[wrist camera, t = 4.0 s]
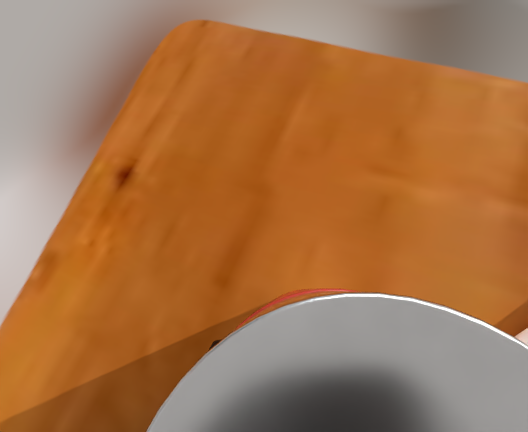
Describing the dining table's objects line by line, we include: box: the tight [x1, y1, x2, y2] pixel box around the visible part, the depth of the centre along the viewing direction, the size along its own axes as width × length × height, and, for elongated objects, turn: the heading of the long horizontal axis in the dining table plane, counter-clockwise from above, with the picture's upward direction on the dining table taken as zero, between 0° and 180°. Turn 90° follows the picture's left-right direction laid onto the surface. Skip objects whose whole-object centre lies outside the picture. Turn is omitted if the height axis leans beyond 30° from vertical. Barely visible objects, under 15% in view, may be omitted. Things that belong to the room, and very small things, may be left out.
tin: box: [146, 289, 528, 432], centre depth 8 cm, size 6×6×13 cm
